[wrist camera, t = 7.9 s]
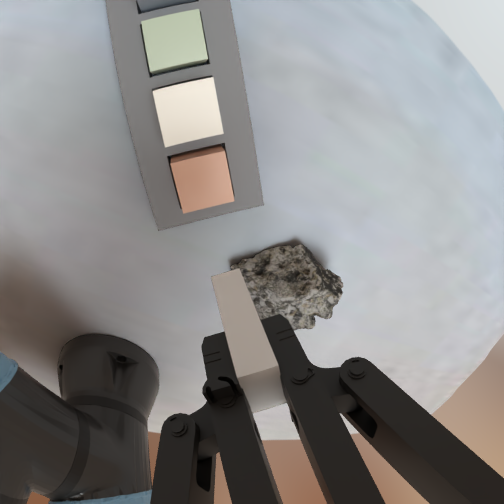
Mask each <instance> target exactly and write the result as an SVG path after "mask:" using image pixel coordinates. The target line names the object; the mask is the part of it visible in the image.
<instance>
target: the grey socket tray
mask: <svg viewBox="0 0 504 504" xmlns="http://www.w3.org/2000/svg"><path fill="white" fill-rule="evenodd" d="M106 7H107V14H108V21H109V28H110V34H111V40H112V46H113V52H114V57H115V62H116V68H117V73H118V78H119V83H120V88H121V92H122V97H123V102H124V106H125V110H126V115H127V119H128V123H129V127H130V132H131V136H132V140H133V144H134V147H135V151H136V155H137V159H138V163H139V166H140V170H141V174H142V177H143V181H144V184H145V188H146V191H147V195H148V198H149V201H150V205H151V208H152V211H153V215H154V218H155V221H156V224H157V228H158V231H160V230H164V229H167V228H171V227H175V226H179V225H183V224H187V223H191V222H195V221H199V220H203V219H207V218H211V217H215V216H219V215H223V214H228V213H232V212H236V211H240V210H244V209H249V208H253V207H258V206H262V205H264V203H263V196H262V190H261V183H260V177H259V170H258V164H257V157H256V151H255V144H254V138H253V132H252V126H251V120H250V113H249V107H248V101H247V95H246V89H245V83H244V77H243V72H242V66H241V60H240V54H239V48H238V43H237V37H236V31H235V26H234V20H233V15H232V9H231V4H230V0H195V2H192V3H186V4H181V5H176V6H171V7H166V8H162V9H158V10H154V11H150V12H146V13H142V14H141V11H140V7H139V5H138V3H137V0H106ZM195 9H199V11H200V17H201V22H202V28H203V34H204V39H205V45H206V50H207V56H208V60H207V61H206V63H207V65H203V66H198V67H193V68H188V69H183V70H179V71H175V72H170V73H166V74H162V75H158V76H154V77H152V73H151V72H150V68H149V63H148V58H147V52H146V47H145V41H144V36H143V30H142V24H141V21H145V20H148V19H152V18H156V17H161V16H165V15H169V14H174V13H179V12H184V11H189V10H195ZM207 77H209V78H211V77H213V78H214V84H215V89H216V95H217V100H218V105H219V111H220V116H221V122H222V127H223V133H224V134H220V135H215V136H211V137H206V138H202V139H197V140H193V141H189V142H185V143H181V144H177V145H173V146H169V147H165V145H164V141H163V136H162V132H161V128H160V123H159V119H158V114H157V110H156V105H155V100H154V96H153V91H154V90H155V89H159V88H163V87H166V86H171V85H175V84H179V83H183V82H188V81H192V80H197V79H202V78H207ZM216 144H222V148H223V149H224V150H225V153H226V158H227V164H228V169H229V174H230V180H231V185H232V190H233V195H234V201H233V202H229V203H225V204H221V205H216V206H212V207H208V208H204V209H200V210H196V211H192V212H188V213H184V214H183V211H182V207H181V203H180V199H179V196H178V192H177V188H176V184H175V180H174V176H173V172H172V168H171V160H170V155H174V154H178V153H182V152H186V151H190V150H194V149H198V148H203V147H207V146H211V145H216Z"/></svg>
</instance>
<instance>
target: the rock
mask: <svg viewBox="0 0 504 504" xmlns="http://www.w3.org/2000/svg"><path fill="white" fill-rule="evenodd" d="M231 269H232V270H235V269H240V271H241V274H242V276H243V279H244V281H245V284H246V286H247V289H248V291H249V294H250V296H251V299H252V301H253V304H254V306H255V309H256V311H257V314H258V316H259V319H260V320H262V319H265V318H268V317H271V316H274V315H278V314H281V315H282V316H284V317H285V318H286V319H288V321H289V323H290V325H291V327H292V329H293V330H297V329H301V328H303V329H304V328H306V329H312V328H313V327H314V326H315V318H314V316H315V315H317V316H319V317H321V318H324V319H328V318H331V317H332V309H333V307H334V306H335V305H336V304H338V301H339V300H340V298H341V295H342V290H341V288H342V287H343V282H341V278H340V277H339V276H337V275H336V274H334V273H332V272H331V271H330V270H328V269H327V270H325V269H324V268H323V267H322V266H321V265H320V264H319V263H318V262H317V261H316V260H315V258H314V256H313V254H312V253H311V251H310V250H309V249H307V247H305V246H304V245H297V246H295V247H294V248H292V247H291V246H290V245H288V246H279V247H275V248H270V249H269V250H264V251H262V252H261V253H260V254H256V255H255V257H254V258H252V259H250V258H249V259H242V261H241V262H240V263H239V264H238V265H236V264H234V265H232V266H231Z"/></svg>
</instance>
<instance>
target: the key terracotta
mask: <svg viewBox="0 0 504 504" xmlns="http://www.w3.org/2000/svg"><path fill="white" fill-rule="evenodd" d="M171 168H172V172H173V176H174V180H175V184H176V188H177V192H178V196H179V199H180V203H181V207H182V211H183V214H184V213H188V212H192V211H196V210H200V209H204V208H208V207H212V206H216V205H221V204H225V203H229V202H233V201H234V195H233V190H232V185H231V180H230V174H229V169H228V164H227V158H226V153H225V150H224V149H223V148H222V146H221V145H220V144H216V145H211V146H207V147H203V148H198V149H194V150H190V151H186V152H182V153H178V154H174V155H172V156H171Z"/></svg>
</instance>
